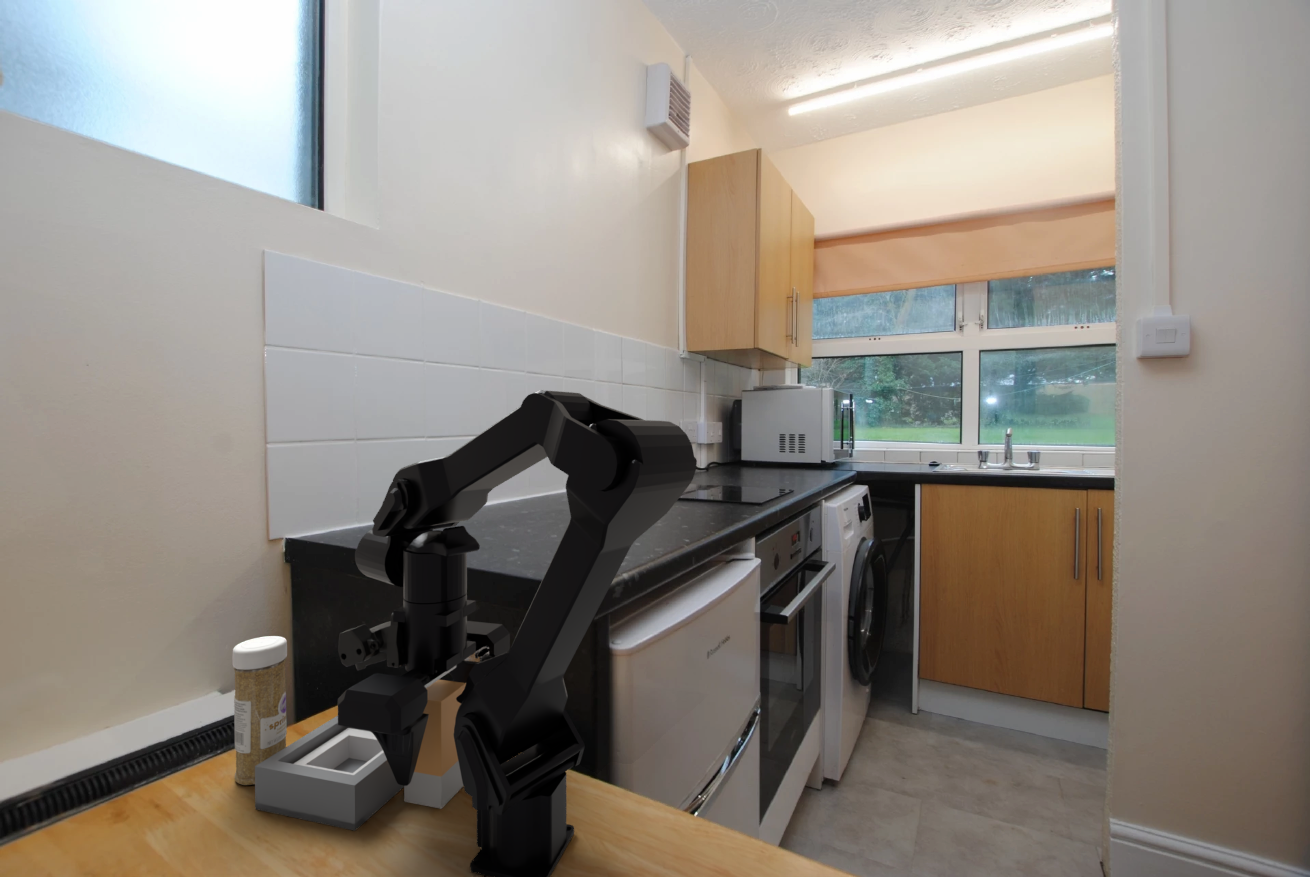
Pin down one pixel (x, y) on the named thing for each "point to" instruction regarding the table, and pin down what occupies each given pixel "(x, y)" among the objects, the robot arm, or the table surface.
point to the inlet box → (327, 777)
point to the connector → (437, 749)
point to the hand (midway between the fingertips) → (436, 755)
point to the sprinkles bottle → (259, 703)
